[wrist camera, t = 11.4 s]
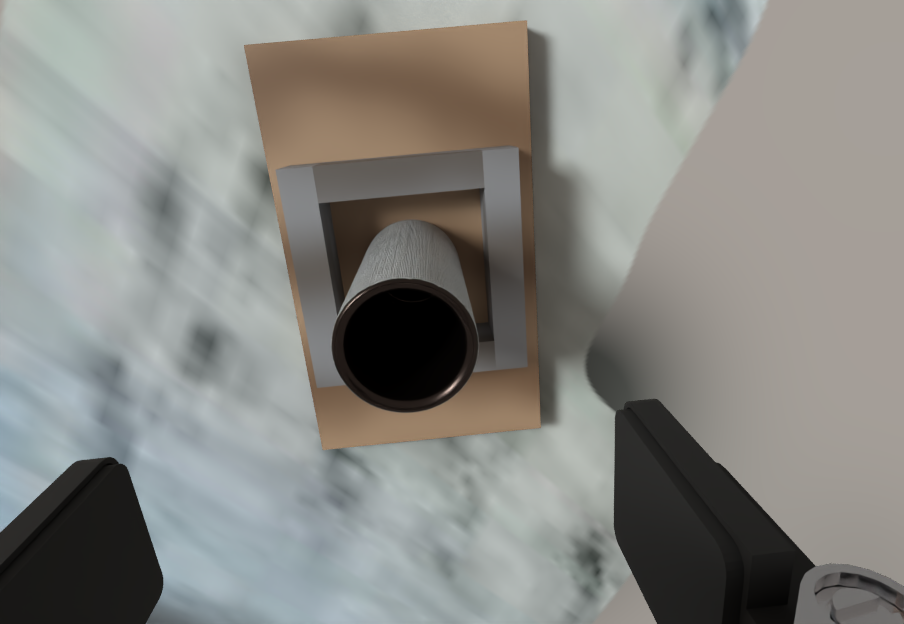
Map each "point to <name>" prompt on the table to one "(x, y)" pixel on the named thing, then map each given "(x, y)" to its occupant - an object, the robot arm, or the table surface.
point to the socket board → (407, 201)
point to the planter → (406, 322)
